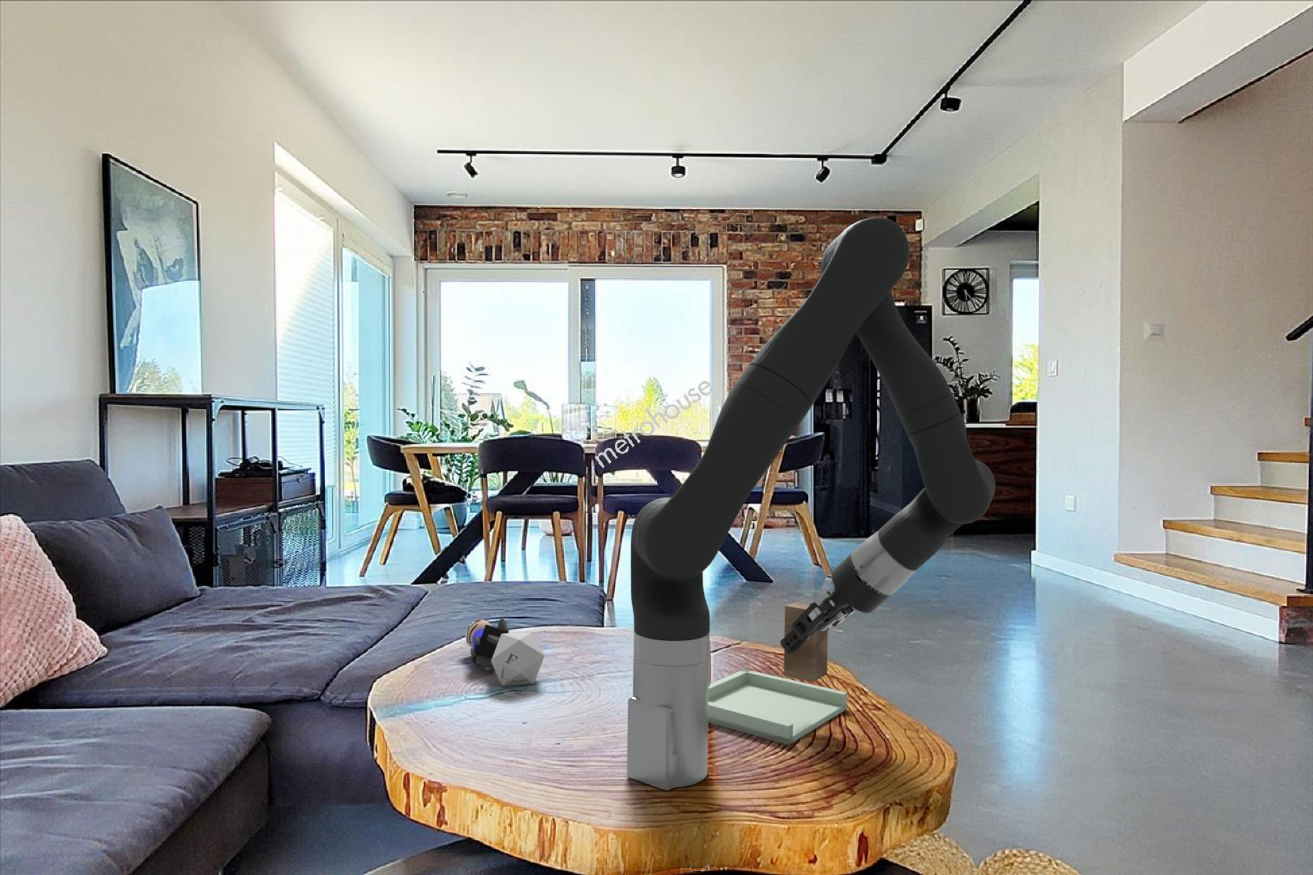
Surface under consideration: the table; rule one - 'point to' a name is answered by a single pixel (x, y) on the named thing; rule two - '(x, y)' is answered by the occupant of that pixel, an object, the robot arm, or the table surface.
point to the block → (805, 649)
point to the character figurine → (484, 640)
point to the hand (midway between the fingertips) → (793, 644)
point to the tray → (772, 705)
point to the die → (517, 659)
